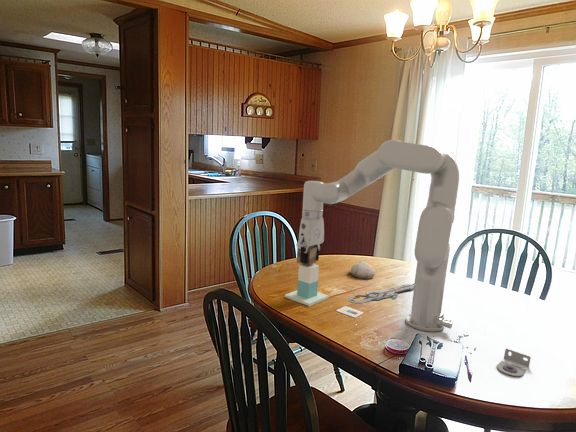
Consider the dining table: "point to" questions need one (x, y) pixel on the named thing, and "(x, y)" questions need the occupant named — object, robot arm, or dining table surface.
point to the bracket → (511, 368)
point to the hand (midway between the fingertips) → (309, 260)
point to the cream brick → (308, 273)
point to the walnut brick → (311, 255)
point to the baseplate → (306, 301)
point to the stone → (362, 270)
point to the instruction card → (350, 311)
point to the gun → (382, 294)
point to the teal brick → (307, 289)
